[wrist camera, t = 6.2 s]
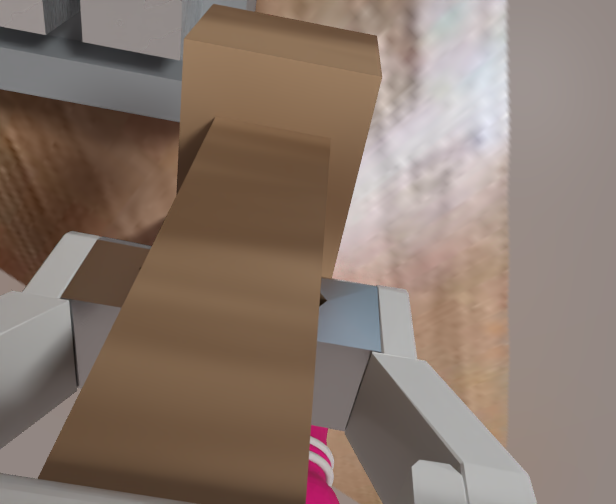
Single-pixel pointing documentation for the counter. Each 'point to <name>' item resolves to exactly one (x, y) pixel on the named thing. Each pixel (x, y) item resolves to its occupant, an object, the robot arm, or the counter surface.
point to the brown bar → (232, 273)
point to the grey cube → (140, 24)
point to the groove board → (94, 69)
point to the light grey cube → (36, 14)
